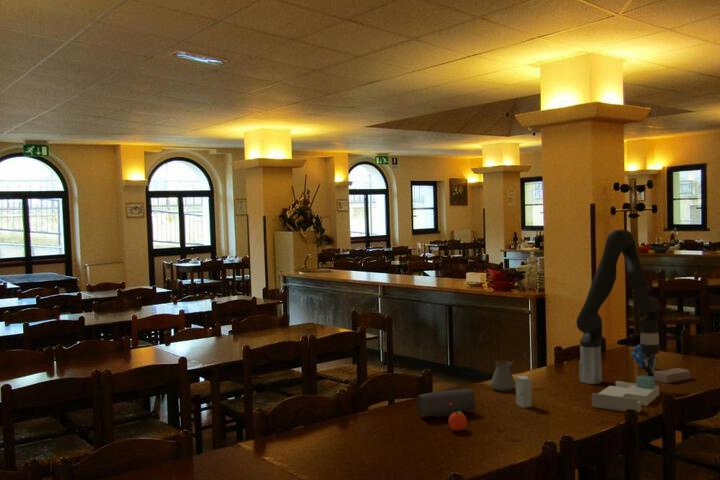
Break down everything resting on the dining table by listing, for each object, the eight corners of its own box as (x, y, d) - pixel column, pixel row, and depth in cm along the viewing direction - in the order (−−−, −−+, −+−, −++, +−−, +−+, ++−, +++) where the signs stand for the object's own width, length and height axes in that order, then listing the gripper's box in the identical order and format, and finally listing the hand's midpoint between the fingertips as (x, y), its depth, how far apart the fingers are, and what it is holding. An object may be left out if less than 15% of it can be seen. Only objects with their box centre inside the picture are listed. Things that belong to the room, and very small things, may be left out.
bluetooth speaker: (424, 421, 261) (423, 397, 261) (416, 415, 270) (415, 391, 270) (477, 414, 267) (476, 390, 267) (467, 408, 276) (466, 385, 276)
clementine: (456, 425, 254) (455, 407, 254) (472, 428, 250) (471, 410, 250) (445, 431, 248) (444, 412, 248) (461, 434, 244) (460, 415, 243)
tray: (592, 406, 271) (591, 393, 271) (616, 389, 295) (616, 377, 295) (637, 413, 260) (637, 399, 259) (659, 395, 284) (658, 382, 284)
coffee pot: (504, 393, 297) (502, 360, 296) (485, 389, 306) (484, 357, 306) (535, 385, 309) (534, 353, 309) (516, 381, 318) (515, 350, 318)
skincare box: (515, 404, 279) (514, 376, 279) (524, 403, 281) (523, 375, 280) (523, 408, 273) (522, 379, 273) (532, 406, 275) (531, 378, 274)
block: (636, 387, 283) (636, 377, 283) (640, 384, 288) (640, 375, 288) (651, 388, 280) (650, 379, 279) (655, 385, 284) (654, 376, 284)
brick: (676, 376, 316) (676, 366, 316) (691, 379, 309) (691, 369, 308) (652, 381, 309) (651, 371, 309) (667, 384, 301) (667, 374, 301)
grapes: (627, 367, 335) (626, 344, 335) (634, 365, 339) (633, 342, 339) (648, 371, 326) (648, 347, 326) (656, 369, 330) (655, 345, 330)
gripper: (645, 339, 297) (646, 377, 297) (636, 344, 287) (637, 383, 287) (662, 340, 292) (664, 379, 293) (654, 345, 282) (655, 385, 282)
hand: (651, 381), depth 290 cm, fingers closed
